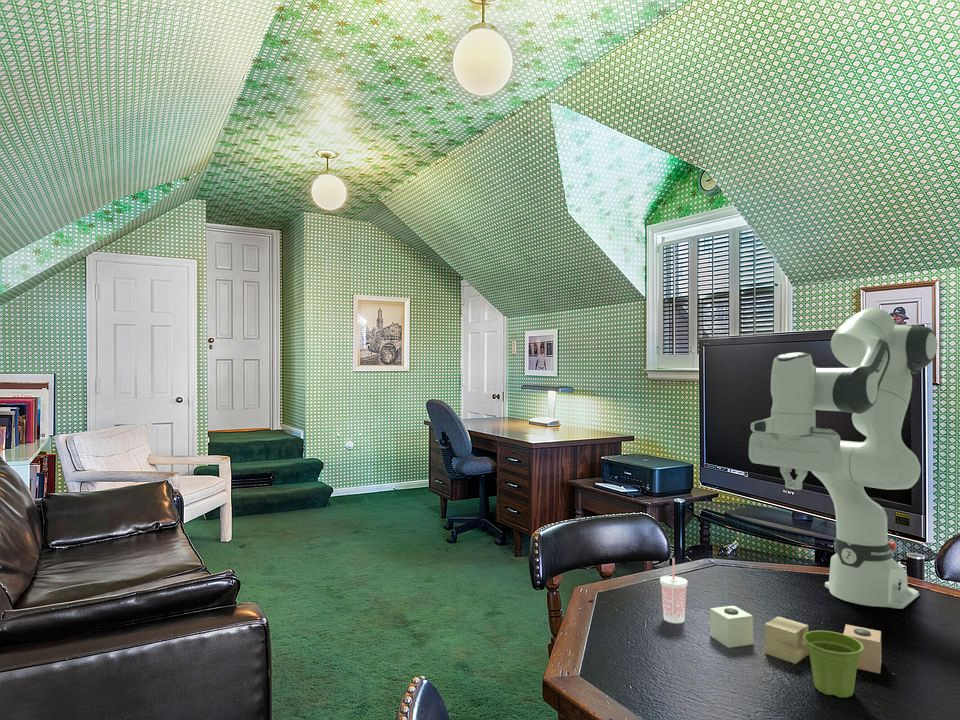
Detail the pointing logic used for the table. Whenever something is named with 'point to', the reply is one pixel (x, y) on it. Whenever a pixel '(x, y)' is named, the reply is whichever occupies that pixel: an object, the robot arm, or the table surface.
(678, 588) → the beverage cup
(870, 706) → the table surface
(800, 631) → the oak block
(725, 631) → the dot block cream
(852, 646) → the plant pot
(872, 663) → the dot block tan
